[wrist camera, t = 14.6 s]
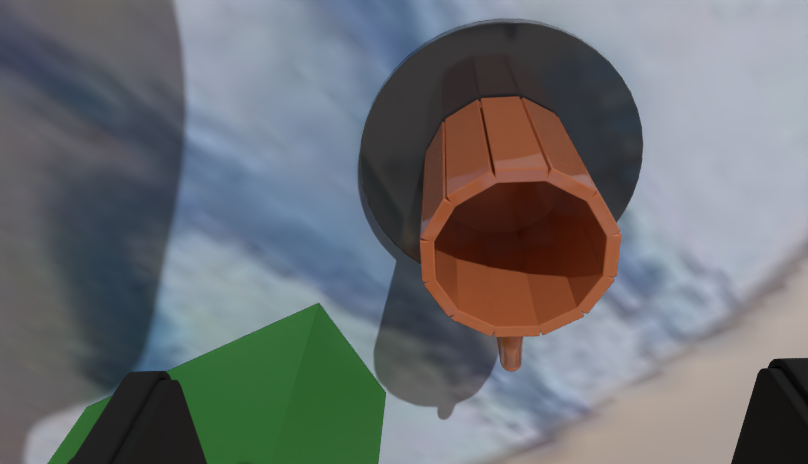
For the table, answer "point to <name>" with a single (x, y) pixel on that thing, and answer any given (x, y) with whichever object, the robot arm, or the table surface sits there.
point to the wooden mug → (513, 224)
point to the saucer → (489, 78)
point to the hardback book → (275, 398)
